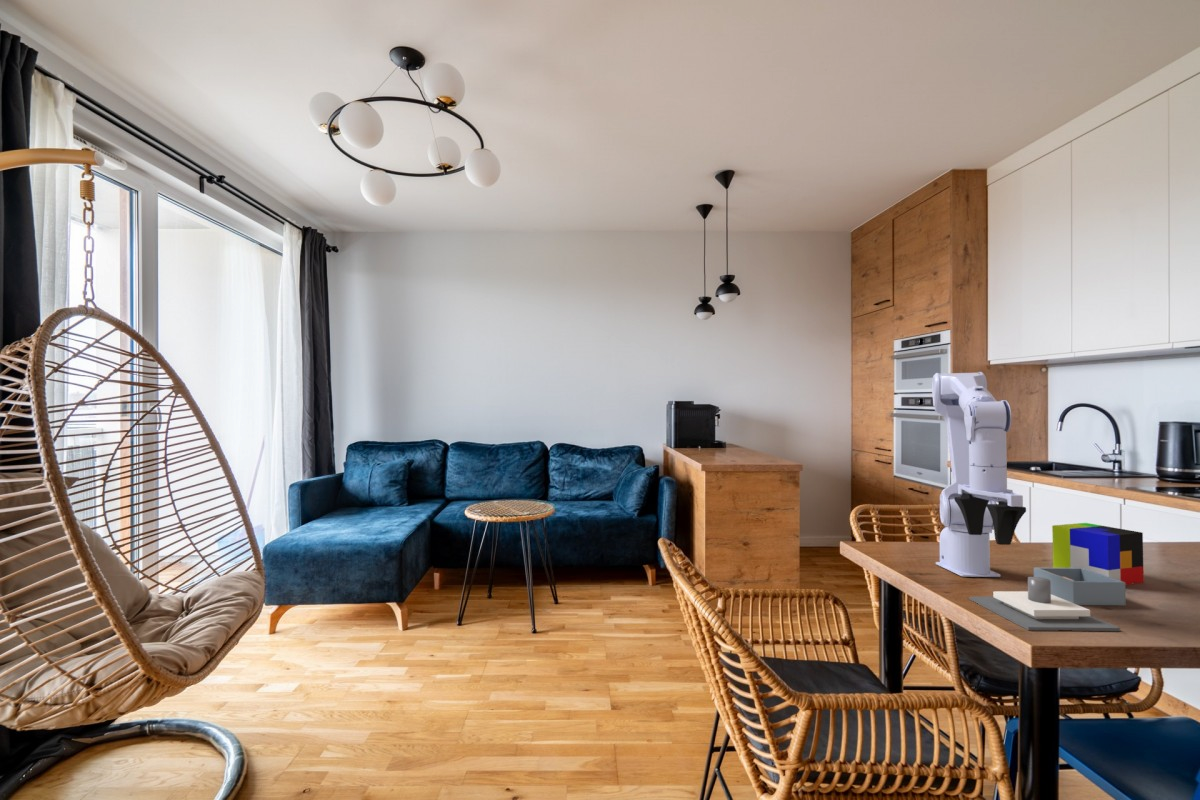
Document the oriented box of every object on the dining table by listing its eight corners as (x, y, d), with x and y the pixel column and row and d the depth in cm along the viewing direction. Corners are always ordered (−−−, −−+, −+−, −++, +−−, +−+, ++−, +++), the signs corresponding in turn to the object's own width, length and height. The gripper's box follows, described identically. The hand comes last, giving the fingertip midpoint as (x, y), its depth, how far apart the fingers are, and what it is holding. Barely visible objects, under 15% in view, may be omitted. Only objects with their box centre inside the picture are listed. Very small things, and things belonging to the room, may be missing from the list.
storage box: (1033, 588, 105) (1033, 567, 105) (1081, 588, 105) (1081, 567, 105) (1073, 604, 96) (1073, 582, 96) (1125, 605, 96) (1125, 582, 96)
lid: (993, 601, 96) (993, 571, 96) (1044, 601, 96) (1043, 571, 96) (1034, 621, 87) (1033, 588, 87) (1090, 621, 87) (1089, 588, 87)
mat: (969, 599, 99) (969, 596, 99) (1047, 599, 98) (1047, 597, 98) (1028, 630, 85) (1028, 627, 85) (1120, 631, 84) (1120, 627, 84)
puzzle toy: (1108, 587, 106) (1107, 535, 106) (1053, 572, 115) (1052, 525, 115) (1143, 582, 108) (1142, 532, 109) (1086, 569, 118) (1085, 522, 118)
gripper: (1040, 469, 94) (1041, 549, 93) (982, 462, 108) (983, 530, 108) (998, 469, 94) (999, 549, 94) (946, 462, 108) (947, 530, 108)
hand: (988, 539), depth 101 cm, fingers open, 7 cm apart
